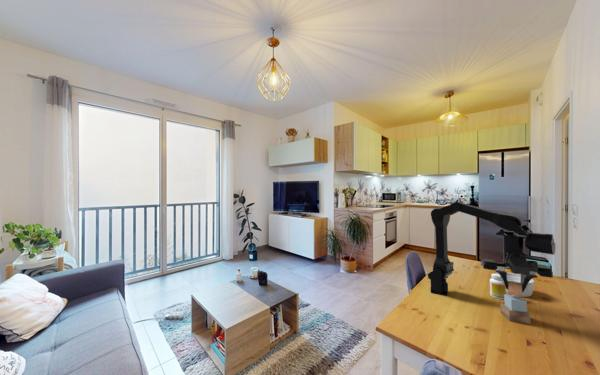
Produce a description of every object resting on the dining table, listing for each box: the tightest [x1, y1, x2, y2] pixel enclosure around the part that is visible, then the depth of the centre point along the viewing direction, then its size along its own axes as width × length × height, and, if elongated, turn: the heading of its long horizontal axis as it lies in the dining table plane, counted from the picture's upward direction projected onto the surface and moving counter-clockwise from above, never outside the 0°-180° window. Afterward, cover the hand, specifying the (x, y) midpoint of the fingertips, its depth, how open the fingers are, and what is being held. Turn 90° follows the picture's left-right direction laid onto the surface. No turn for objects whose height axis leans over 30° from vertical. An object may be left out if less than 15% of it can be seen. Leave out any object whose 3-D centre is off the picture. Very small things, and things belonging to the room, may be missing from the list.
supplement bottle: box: [489, 273, 507, 300], centre depth 100 cm, size 5×5×10 cm
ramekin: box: [495, 272, 535, 298], centre depth 105 cm, size 13×13×7 cm
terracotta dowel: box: [507, 281, 522, 296], centre depth 83 cm, size 4×4×4 cm
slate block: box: [503, 293, 528, 312], centre depth 83 cm, size 4×4×4 cm
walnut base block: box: [500, 302, 532, 325], centre depth 83 cm, size 6×6×4 cm
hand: (514, 290), depth 83 cm, fingers closed on terracotta dowel, 4 cm apart
